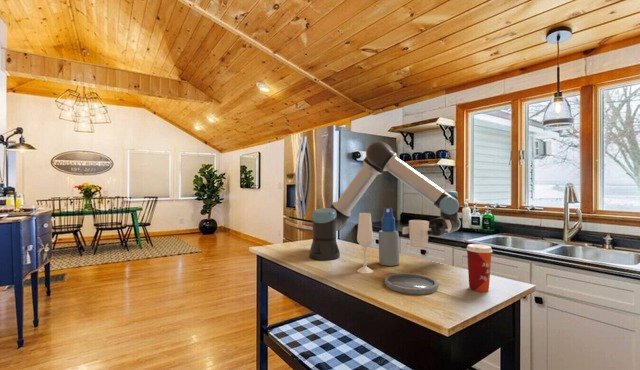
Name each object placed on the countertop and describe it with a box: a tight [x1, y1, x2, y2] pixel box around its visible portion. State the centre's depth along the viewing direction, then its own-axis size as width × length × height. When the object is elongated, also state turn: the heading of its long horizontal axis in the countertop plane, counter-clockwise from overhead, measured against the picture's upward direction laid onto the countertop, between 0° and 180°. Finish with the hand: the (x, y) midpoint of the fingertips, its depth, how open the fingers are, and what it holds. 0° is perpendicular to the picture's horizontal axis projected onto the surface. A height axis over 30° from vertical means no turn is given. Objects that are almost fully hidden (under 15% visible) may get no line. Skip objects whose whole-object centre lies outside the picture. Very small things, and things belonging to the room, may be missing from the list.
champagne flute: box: [356, 212, 374, 274], centre depth 131 cm, size 7×7×24 cm
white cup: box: [408, 219, 430, 248], centre depth 128 cm, size 8×8×10 cm
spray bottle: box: [378, 207, 400, 267], centre depth 143 cm, size 9×9×25 cm
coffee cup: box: [466, 243, 494, 293], centre depth 110 cm, size 8×8×15 cm
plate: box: [384, 272, 439, 296], centre depth 113 cm, size 18×18×2 cm
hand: (412, 232), depth 125 cm, fingers closed on white cup, 8 cm apart
